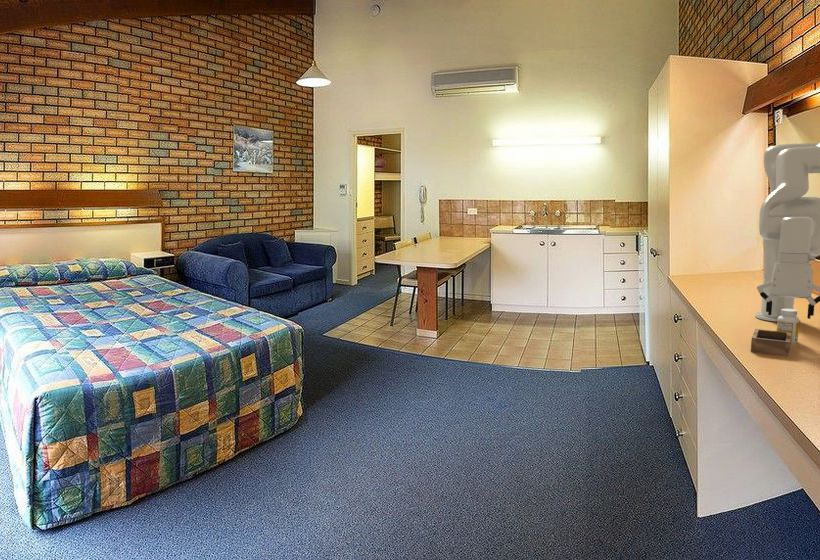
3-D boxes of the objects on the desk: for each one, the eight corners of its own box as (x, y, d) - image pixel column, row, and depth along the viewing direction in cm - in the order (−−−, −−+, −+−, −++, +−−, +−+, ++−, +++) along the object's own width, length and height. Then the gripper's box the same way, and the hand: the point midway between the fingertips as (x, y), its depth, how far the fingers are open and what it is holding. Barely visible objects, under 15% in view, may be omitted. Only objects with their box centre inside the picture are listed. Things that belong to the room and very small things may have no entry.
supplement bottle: (788, 338, 170) (791, 307, 169) (801, 343, 165) (804, 311, 163) (771, 339, 170) (774, 308, 169) (784, 344, 165) (786, 312, 163)
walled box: (754, 341, 168) (755, 328, 168) (790, 345, 163) (791, 332, 162) (750, 351, 159) (751, 337, 158) (788, 356, 153) (789, 342, 153)
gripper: (829, 259, 161) (824, 317, 164) (759, 256, 171) (755, 311, 174) (830, 261, 155) (825, 321, 158) (758, 258, 165) (754, 315, 168)
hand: (789, 316), depth 166 cm, fingers open, 9 cm apart
